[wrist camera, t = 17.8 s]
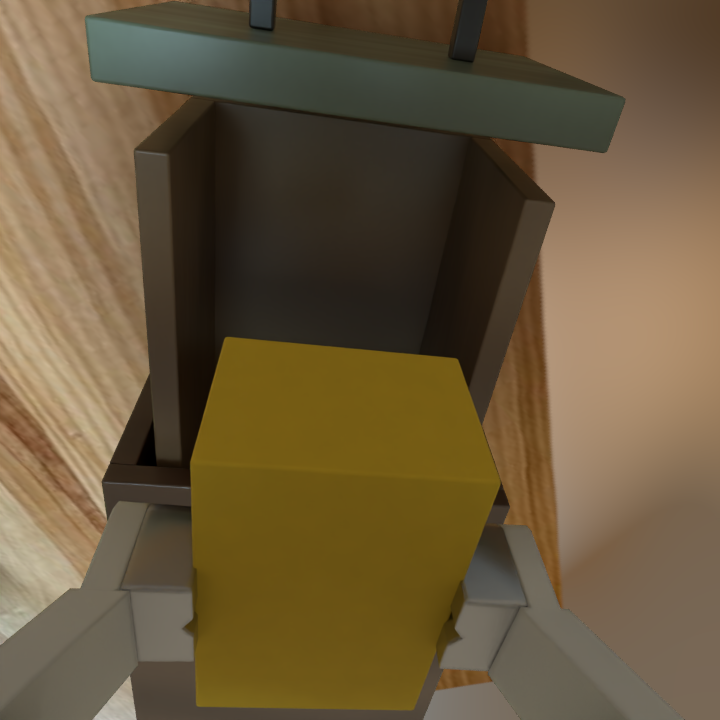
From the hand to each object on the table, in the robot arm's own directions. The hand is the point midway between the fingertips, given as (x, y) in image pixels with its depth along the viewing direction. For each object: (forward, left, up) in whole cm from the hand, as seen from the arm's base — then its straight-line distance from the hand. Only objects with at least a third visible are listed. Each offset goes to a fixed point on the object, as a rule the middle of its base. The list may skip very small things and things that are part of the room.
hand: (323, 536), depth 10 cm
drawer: (-2, -1, -15) cm, 15 cm away
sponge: (0, 0, -2) cm, 2 cm away
